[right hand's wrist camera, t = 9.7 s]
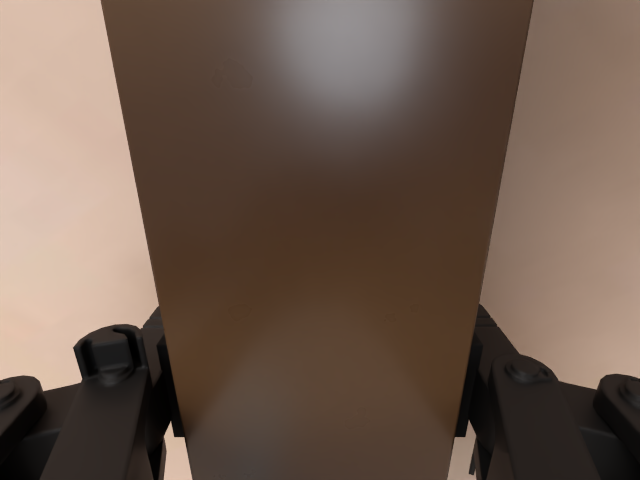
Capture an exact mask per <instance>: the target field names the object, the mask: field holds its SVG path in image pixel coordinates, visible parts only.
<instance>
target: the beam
mask: <svg viewBox="0 0 640 480" xmlns="http://www.w3.org/2000/svg"><path fill="white" fill-rule="evenodd" d="M533 1H534V0H101V4H102V9H103V15H104V20H105V25H106V30H107V36H108V41H109V46H110V51H111V56H112V62H113V67H114V72H115V77H116V83H117V88H118V93H119V98H120V103H121V109H122V114H123V119H124V124H125V130H126V135H127V140H128V145H129V150H130V156H131V161H132V166H133V171H134V177H135V182H136V187H137V192H138V197H139V203H140V208H141V213H142V218H143V224H144V229H145V234H146V239H147V244H148V250H149V255H150V260H151V265H152V271H153V276H154V281H155V286H156V291H157V297H158V302H159V307H160V312H161V318H162V323H163V328H164V333H165V338H166V344H167V349H168V354H169V359H170V365H171V370H172V375H173V380H174V385H175V391H176V396H177V401H178V406H179V411H180V417H181V422H182V427H183V432H184V438H185V443H186V448H187V453H188V458H189V464H190V469H191V474H192V479H193V480H447V477H448V471H449V466H450V460H451V455H452V449H453V444H454V438H455V433H456V427H457V421H458V416H459V410H460V405H461V399H462V394H463V388H464V383H465V377H466V372H467V366H468V361H469V355H470V350H471V344H472V339H473V333H474V328H475V322H476V316H477V311H478V305H479V300H480V294H481V289H482V283H483V278H484V272H485V267H486V261H487V256H488V250H489V245H490V239H491V234H492V228H493V223H494V217H495V211H496V206H497V200H498V195H499V189H500V184H501V178H502V173H503V167H504V162H505V156H506V151H507V145H508V140H509V134H510V129H511V123H512V118H513V112H514V106H515V101H516V95H517V90H518V84H519V79H520V73H521V68H522V62H523V57H524V51H525V46H526V40H527V35H528V29H529V24H530V18H531V13H532V7H533Z"/></svg>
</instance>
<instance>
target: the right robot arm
mask: <svg viewBox="0 0 640 480" xmlns="http://www.w3.org/2000/svg"><path fill="white" fill-rule="evenodd" d="M73 349H74V352H75V356H76V359H77V362H78V366H79V369H80V372H81V376H82V381H81V383H78V384H74V385H70V386H66V387H61V388H56V389H52V390H47V391H43V390H42V387H41V384H40V381H39V380H37V379H36V378H35V377H32V376H17V377H10V378H7V379H3V380H0V480H164V470H165V461H166V445H165V440H164V435H165V432H166V430H167V428H168V426H169V424H170V421H171V423H172V428H173V433H174V437H184V432H183V427H182V422H181V417H180V411H179V406H178V401H177V396H176V391H175V385H174V380H173V375H172V370H171V365H170V359H169V354H168V349H167V344H166V338H165V333H164V328H163V323H162V318H161V312H160V307H159V306H158V307H157V308H156V310H155V311H154V312H153V314H152V315H151V316H150V319H148V320H147V321H146V323H145V324H144V325H143V328H141V329H139V328H138V327H136V326H133V325H129V324H119V325H112V326H108V327H103V328H101V329H98V330H96V331H93V332H91V333H89V334H88V335H86V336H85V337H83V338H82V339H80V340H79V341H78V342H77V344H76V345H75V346H74V347H73ZM469 420H470V423H471V425H472V427H473V429H474V431H475V433H476V440H475V444H474V449H473V454H472V459H471V463H470V469H469V474H471V475H474V472H475V469H476V479H477V480H640V378H639V379H638V378H636V377H632V376H628V375H621V374H611V375H606V376H604V377H603V378H602V379H601V380H600V382H599V385H598V388H597V390H596V389H591V388H586V387H582V386H577V385H572V384H568V383H564V382H561V381H558V378H557V377H556V376H555V374H554V373H553V371H552V370H551V369H549V368H548V367H547V366H545V365H544V364H543V363H541V362H539V361H537V360H535V359H533V358H531V357H528V356H524V355H520V354H519V353H518V351H517V350H516V349H515V348H514V346H513V345H512V344H511V342H510V341H509V340H508V338H507V337H506V336H505V335H504V333H503V332H502V331H501V329H500V328H499V327H497V324H496V323H495V322H494V320H493V319H492V318H490V315H489V314H488V312H487V311H486V310H485V309H484V307H483V306H482V305H480V304H479V305H478V311H477V316H476V322H475V328H474V333H473V339H472V344H471V350H470V355H469V361H468V366H467V372H466V377H465V383H464V388H463V394H462V399H461V405H460V410H459V416H458V421H457V427H456V433H455V437H465V436H466V431H467V426H468V421H469Z"/></svg>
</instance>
